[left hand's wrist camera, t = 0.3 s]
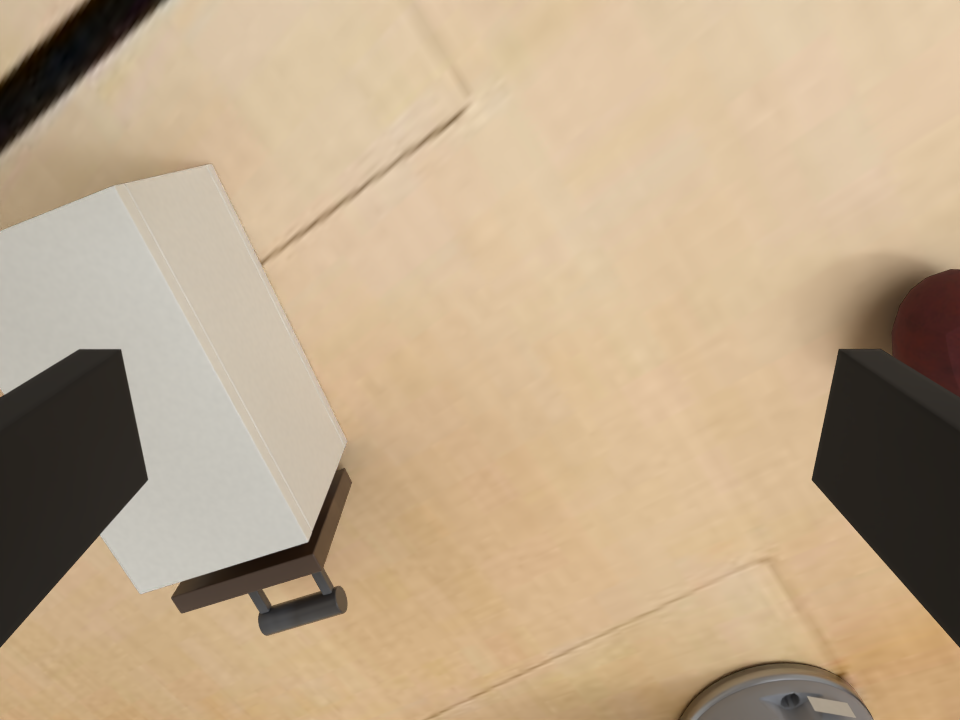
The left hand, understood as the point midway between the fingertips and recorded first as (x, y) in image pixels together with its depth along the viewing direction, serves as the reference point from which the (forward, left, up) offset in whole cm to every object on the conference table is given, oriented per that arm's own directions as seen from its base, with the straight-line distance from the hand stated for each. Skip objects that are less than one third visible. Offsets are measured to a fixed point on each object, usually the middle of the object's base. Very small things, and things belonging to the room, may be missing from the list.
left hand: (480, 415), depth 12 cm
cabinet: (+8, -16, -28) cm, 33 cm away
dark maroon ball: (+6, +27, -28) cm, 39 cm away
